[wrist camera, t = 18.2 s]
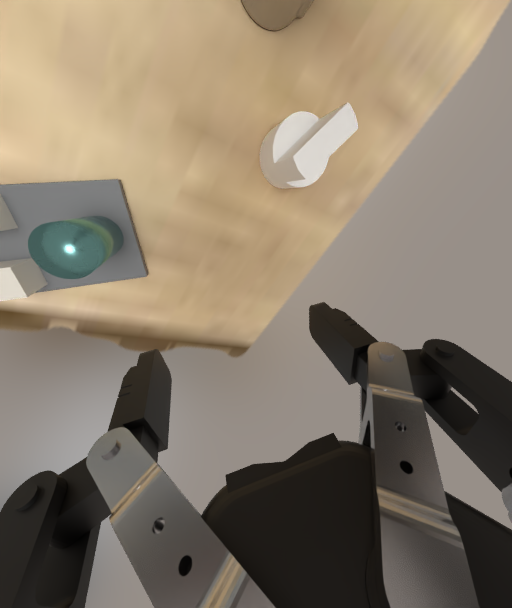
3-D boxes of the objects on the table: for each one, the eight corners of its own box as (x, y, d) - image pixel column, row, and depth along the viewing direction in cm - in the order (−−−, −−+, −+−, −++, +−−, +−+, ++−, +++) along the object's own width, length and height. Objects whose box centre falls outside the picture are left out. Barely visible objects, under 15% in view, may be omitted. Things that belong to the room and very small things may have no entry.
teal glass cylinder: (115, 213, 32) (85, 218, 21) (128, 252, 34) (107, 274, 24) (70, 217, 30) (14, 225, 20) (88, 258, 33) (46, 283, 22)
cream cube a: (33, 257, 31) (9, 267, 26) (47, 284, 33) (27, 297, 28) (-2, 261, 30) (-32, 272, 26) (15, 288, 32) (-11, 302, 27)
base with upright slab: (290, 109, 34) (338, 70, 24) (318, 163, 38) (368, 150, 28) (248, 152, 35) (276, 132, 24) (280, 200, 39) (316, 201, 29)
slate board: (120, 180, 31) (117, 179, 30) (148, 273, 38) (147, 276, 36) (-51, 188, 27) (-63, 187, 25) (13, 293, 33) (6, 296, 32)
